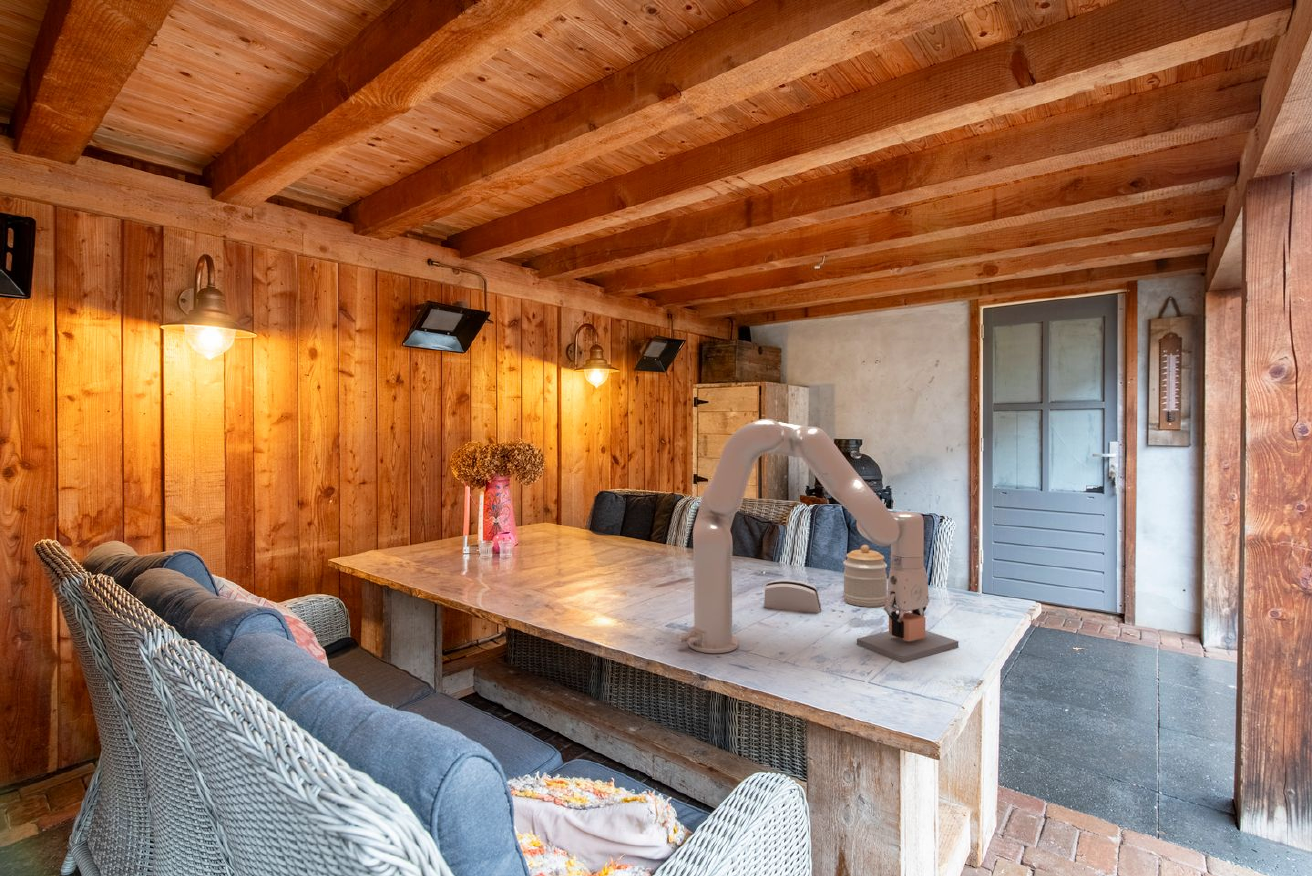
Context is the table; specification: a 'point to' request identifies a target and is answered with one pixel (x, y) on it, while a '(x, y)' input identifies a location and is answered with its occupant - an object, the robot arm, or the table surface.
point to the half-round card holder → (792, 596)
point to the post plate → (907, 645)
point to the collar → (911, 626)
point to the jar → (865, 578)
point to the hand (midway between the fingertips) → (907, 633)
